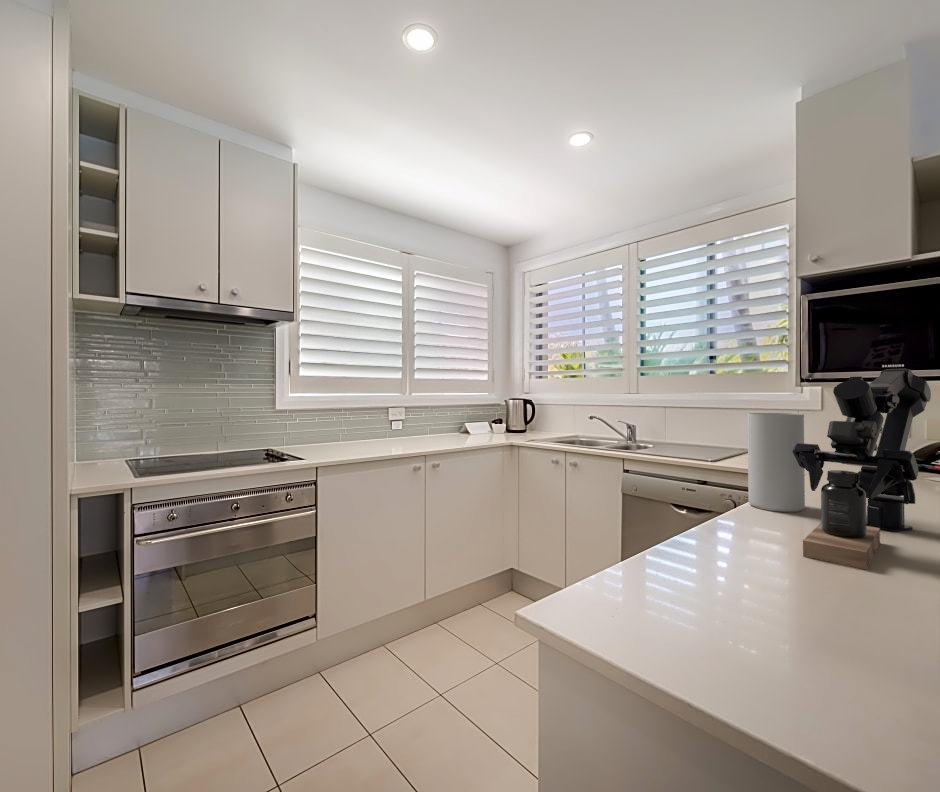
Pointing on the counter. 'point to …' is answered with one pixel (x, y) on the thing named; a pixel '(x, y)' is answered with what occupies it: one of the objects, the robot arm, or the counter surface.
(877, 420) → the robot arm
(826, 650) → the counter surface
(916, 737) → the counter surface
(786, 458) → the cylinder vase
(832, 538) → the walnut ledge
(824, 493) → the supplement bottle
